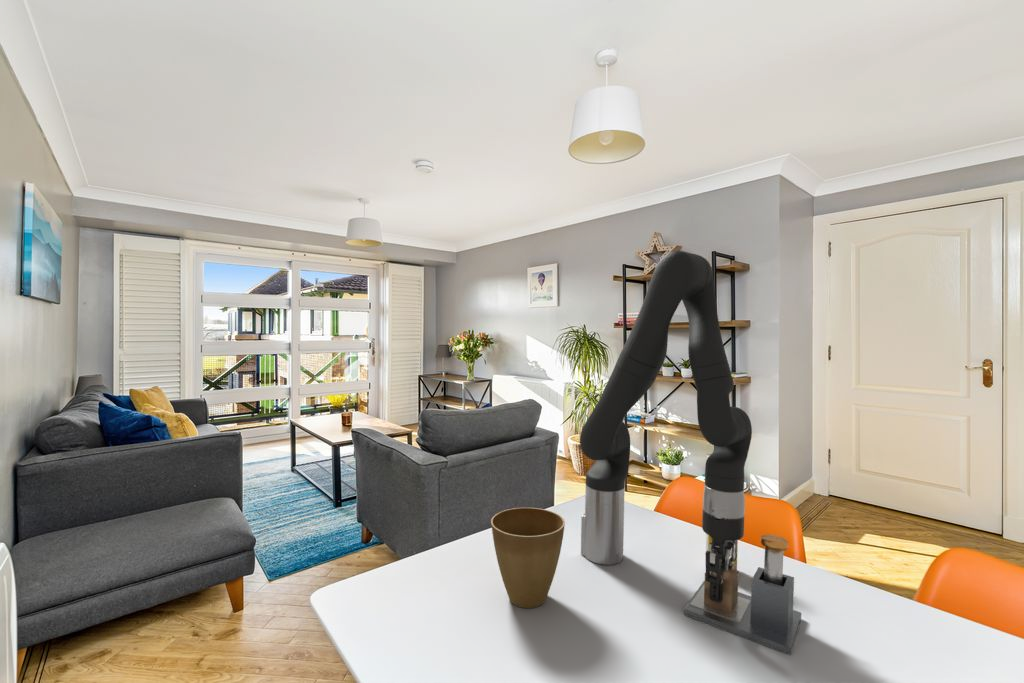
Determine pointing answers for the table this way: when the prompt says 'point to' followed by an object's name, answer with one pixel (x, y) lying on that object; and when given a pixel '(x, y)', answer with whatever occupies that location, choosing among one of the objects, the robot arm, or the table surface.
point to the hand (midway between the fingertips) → (720, 592)
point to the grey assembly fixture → (755, 613)
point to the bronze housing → (724, 591)
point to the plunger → (773, 558)
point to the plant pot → (527, 552)
